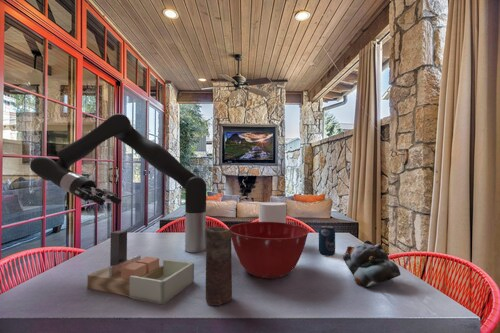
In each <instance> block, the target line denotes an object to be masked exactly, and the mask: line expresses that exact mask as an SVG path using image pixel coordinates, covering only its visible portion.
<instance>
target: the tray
mask: <svg viewBox="0 0 500 333" xmlns="http://www.w3.org/2000/svg"><path fill="white" fill-rule="evenodd" d="M194 264H195V263H194V262H188V261H183V260H176V259H175V260H174V259H166V258H164V259H163V260H162V266H163V276H161V277H160V278H158V279H150V278H144V277H138V276H130V296H128V297H129V299H133V300H137V301H143V302H147V303H153V304H158V305H165V304H166V303H167V302H168V301H170V300H171V299H173V297H175V296H176V295H178V294H180V293H181V292H182V291H183V290H184V289H186V288H187V287H188V286H190V285H191V284H192V283H194V281H195V276H194V275H195V272H194V271H195V270H194V269H195V265H194Z"/></svg>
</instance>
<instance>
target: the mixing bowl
mask: <svg viewBox="0 0 500 333" xmlns="http://www.w3.org/2000/svg"><path fill="white" fill-rule="evenodd" d="M228 229H229V230H231V243H232V245H233V248H234V251H235V254H236V256H237V258H238V260H239V262H240V264H241V266H242V267H243V269H244V270H245V271H247V272H248V273H249V274H250V275H251V276H254V277H256V278H260V279H278V278H282V277H284V276H286V275H287V274H289V273H291V272H292V271H293V270H294V269H295V267H296V266H297V264H298V262H299V261H300V258H301V256H302V254H303V252H304V249H305V245H306V243H307V238H308V235H309V233H310V230H309V229H308V228H306V227H305V226H302V225H298V224H295V223H294V224H293V223H288V222H286V223H280V222H259V221H251V222H250V221H249V222H242V223H238V224H234V225H231V226H230V227H229V228H228Z"/></svg>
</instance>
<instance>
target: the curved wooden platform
mask: <svg viewBox="0 0 500 333" xmlns="http://www.w3.org/2000/svg"><path fill="white" fill-rule="evenodd" d="M109 267H110V265H108V266H106V267H103V268H101V269H99V270H95V271H93V272H92V273H89V274H87V277H86V278H87V281H86V282H87V285H86V288H87V289H91V290H94V291H95V290H96V291H101V292H106V293H111V294H116V295H120V296H121V295H122V296H127V297H129V296H130V279H124V278H121V273H120V274H118V275H115V276H113V277H109ZM161 276H163V265H161V264H159V268H157V269H155V270H153V271H151V272H149V273H147V272H146V274H145V275H143V276H141V277H144V278H150V279H158V278H160V277H161Z"/></svg>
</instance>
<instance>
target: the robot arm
mask: <svg viewBox="0 0 500 333" xmlns="http://www.w3.org/2000/svg"><path fill="white" fill-rule="evenodd" d="M113 137H114V138H116V139H117V140H118V141H121V142H122V143H124V144H125V145H126V146H128V147H129V148H131V149H132V150H134V152H136V153H137V154H138V155H139V156H140V157H141V158H142V159H143V160H144V161H146V162H147V163H148V164H149V165H151V166H152V167H153V168H155V169H156V171H159V172H160V173H162V174H164V175H165V176H167V177H169V178H171V179H173V180H174V181H175V182H177V183H178V184H179V185H180V187H182V188H183V189H184V190H185V192H184V193H185V195H184V196H185V197H184V198H185V200H184V201H185V202H184V204H185V205H184V206H185V207H184V210H185V213H184V214H185V218H184V219H185V222H184V223H185V224H184V227H185V228H184V232H185V234H184V243H185V244H184V251H185V252H187V253H201V252H205V251H206V228H207V183H206V181H205V180H204V179H203V178H201V177H200V176H198V175H196V174H195V173H193V172H191V171H190V170H189V169H187V168H186V167H184V165H182V163H180V162H179V160H178V159H177V158H176V157H175V156H173V154H171V152H169V151H168V150H167V149H165V148H164V147H163V146H161V145H160V144H159V143H156V142H154V141H152V139H151V140H150V139H148V138H147V137H145V136H143V135H142V134H141V133H139V131H137V129H135V127H134V126H132V123H131V120H130V118H129V117H128V116H127V115H125V114H123V113H114V114H112V115H110V116H109V117H107V118H106V119H104V121H103V122H101V123H100V124H99V125H98V126H96V127H95V128H94V129H92V130H91V131H89V132H88V133H86V134H85V135H83V136H81V137H80V138H78V139H77V140H75V141H73V142H71V143H69V144H68V145H66V146H64V147H63V148H61V149H59V150H58V151H56V155H57V158H58V159H57V160H56V161H55V160H53V159H52V158H50V157H48V156H37V157H35V158H33V159H32V160H31V161H30V164H29V168H30V170H31V171H32V172H33V173H34V174H35V175H37V176H39V178H41V179H42V180H44V181H46V182H49V181H50V182H51V183H52V184H54V185H55V186H57V187H59V188H61V189H62V190H64V191H66V192H68V194H71V195H73V196H74V197H76V198H78V199H81V200H83V201H85V202H93V203H95V204H97V205H99V206H104V205H105V202H106V201H109V202H112V203H113V204H115V205H118V206H119V205H121V204H122V198H120V197H117V195H118V194H117V193H115V192H112V191H110V190H108V189H106V188H103V189H102V188H101V187H97V185H96V182H95V181H94V180H92V179H90V178H88V177H86V176H84V175H82V174H80V173H77V172H74V171H72V170H70V169H69V168H70V167H71V166H72V165H74V164H75V163H77V162H79V161H81V160H82V159H83V158H85V157H87V156H88V155H90V154H91V153H92V152H93V151H95V149H96V148H97V147H98V146H100V145H101V144H102V143H104V142H105V141H107V140H109V139H111V138H113Z"/></svg>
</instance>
